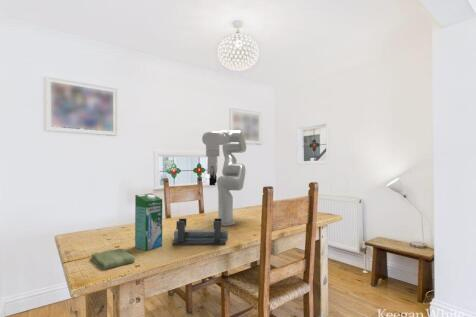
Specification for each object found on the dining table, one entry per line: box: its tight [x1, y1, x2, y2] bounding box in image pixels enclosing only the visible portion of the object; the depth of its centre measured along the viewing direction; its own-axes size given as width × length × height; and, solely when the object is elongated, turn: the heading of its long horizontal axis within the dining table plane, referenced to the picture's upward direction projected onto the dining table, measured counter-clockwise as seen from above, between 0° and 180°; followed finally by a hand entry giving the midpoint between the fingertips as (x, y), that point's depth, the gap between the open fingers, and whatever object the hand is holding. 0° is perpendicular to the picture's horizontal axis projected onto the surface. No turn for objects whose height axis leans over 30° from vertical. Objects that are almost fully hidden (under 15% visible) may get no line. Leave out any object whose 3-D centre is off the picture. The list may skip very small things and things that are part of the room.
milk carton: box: [134, 193, 163, 252], centre depth 127 cm, size 9×9×25 cm
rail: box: [173, 229, 229, 239], centre depth 139 cm, size 4×28×4 cm, turn 91°
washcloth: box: [90, 248, 135, 270], centre depth 109 cm, size 13×18×3 cm
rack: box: [171, 217, 227, 246], centre depth 132 cm, size 7×26×12 cm, turn 91°
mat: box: [173, 238, 228, 241], centre depth 139 cm, size 6×27×1 cm, turn 91°
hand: (213, 184), depth 149 cm, fingers open, 9 cm apart
